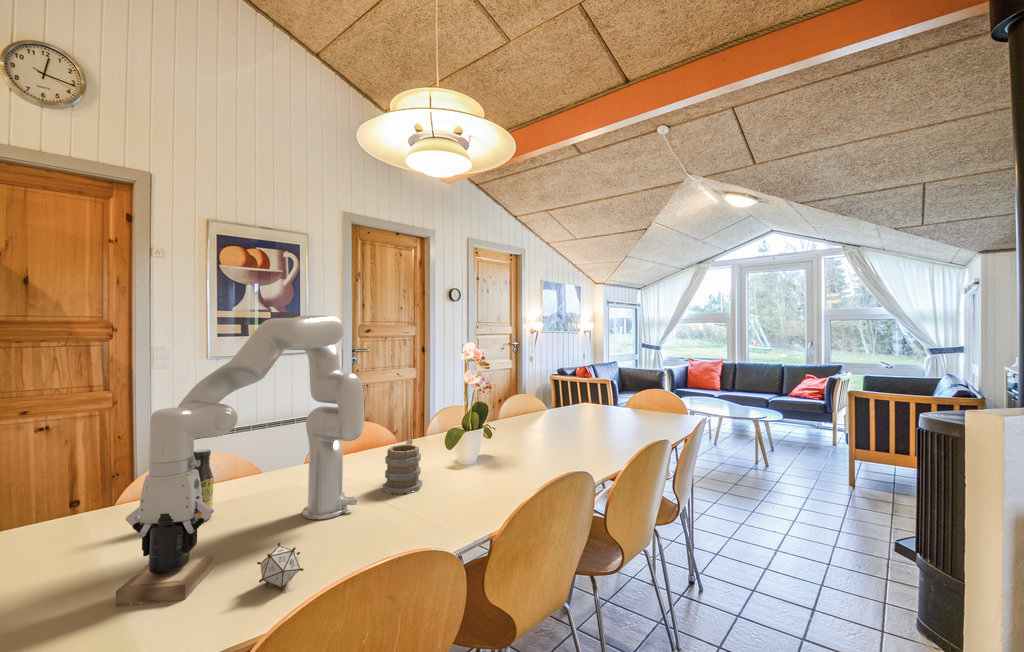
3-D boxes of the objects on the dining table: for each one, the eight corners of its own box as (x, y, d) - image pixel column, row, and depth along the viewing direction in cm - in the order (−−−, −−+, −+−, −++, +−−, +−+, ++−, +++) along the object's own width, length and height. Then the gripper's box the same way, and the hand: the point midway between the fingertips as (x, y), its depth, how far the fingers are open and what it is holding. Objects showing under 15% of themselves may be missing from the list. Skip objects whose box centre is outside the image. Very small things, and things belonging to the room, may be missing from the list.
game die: (274, 600, 94) (271, 551, 100) (312, 584, 95) (308, 536, 100) (248, 600, 87) (246, 547, 92) (290, 583, 87) (286, 532, 93)
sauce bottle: (197, 526, 122) (199, 454, 123) (179, 524, 123) (181, 453, 124) (217, 516, 128) (219, 448, 129) (200, 514, 130) (202, 447, 130)
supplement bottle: (186, 554, 98) (187, 500, 98) (192, 566, 93) (193, 509, 93) (146, 566, 93) (148, 509, 93) (150, 579, 88) (151, 518, 88)
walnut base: (212, 568, 100) (213, 554, 100) (184, 599, 88) (185, 583, 88) (152, 574, 97) (152, 559, 97) (115, 606, 86) (115, 590, 86)
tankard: (416, 494, 148) (417, 449, 148) (379, 494, 148) (380, 449, 148) (428, 476, 168) (429, 436, 168) (395, 475, 168) (396, 436, 168)
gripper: (224, 459, 99) (223, 539, 98) (135, 464, 95) (133, 546, 95) (209, 469, 91) (207, 556, 91) (112, 474, 88) (109, 564, 88)
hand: (169, 550), depth 93 cm, fingers closed on supplement bottle, 6 cm apart
